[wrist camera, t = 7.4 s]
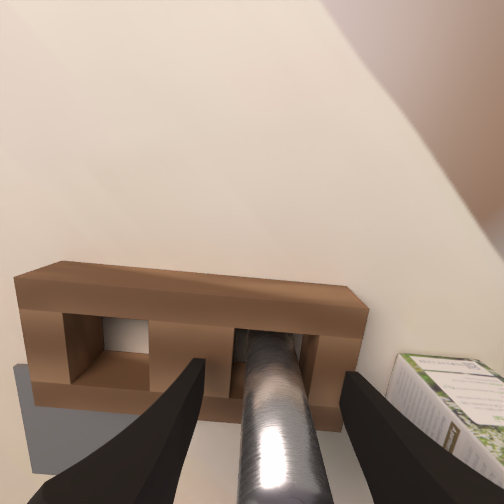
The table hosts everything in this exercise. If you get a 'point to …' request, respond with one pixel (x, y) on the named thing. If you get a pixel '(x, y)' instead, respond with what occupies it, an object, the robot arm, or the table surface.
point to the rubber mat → (62, 429)
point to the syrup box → (454, 407)
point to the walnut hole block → (178, 336)
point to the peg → (278, 428)
